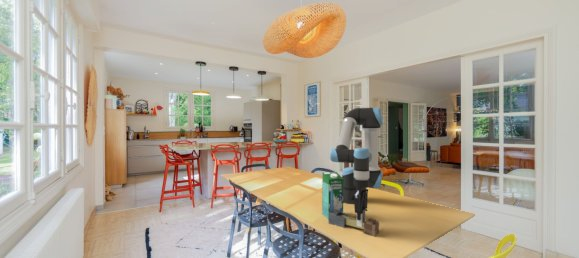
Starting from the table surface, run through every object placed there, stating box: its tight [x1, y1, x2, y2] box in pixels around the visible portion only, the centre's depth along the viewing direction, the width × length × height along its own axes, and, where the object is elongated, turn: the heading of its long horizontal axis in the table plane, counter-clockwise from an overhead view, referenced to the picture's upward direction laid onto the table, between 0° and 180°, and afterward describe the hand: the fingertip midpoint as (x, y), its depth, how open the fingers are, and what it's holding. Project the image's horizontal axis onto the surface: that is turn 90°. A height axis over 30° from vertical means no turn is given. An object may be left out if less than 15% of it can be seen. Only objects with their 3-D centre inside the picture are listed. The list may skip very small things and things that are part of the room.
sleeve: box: [328, 209, 350, 228], centre depth 128 cm, size 6×9×6 cm
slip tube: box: [341, 208, 367, 230], centre depth 122 cm, size 3×17×9 cm, turn 52°
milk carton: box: [321, 171, 344, 221], centre depth 138 cm, size 9×9×25 cm
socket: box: [363, 217, 380, 237], centre depth 117 cm, size 6×5×6 cm
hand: (360, 224), depth 120 cm, fingers closed on slip tube, 3 cm apart
